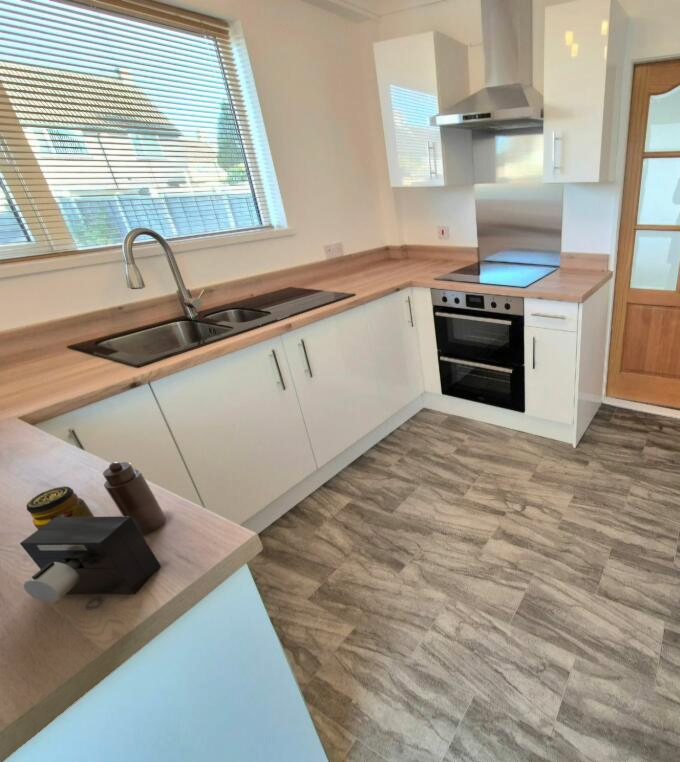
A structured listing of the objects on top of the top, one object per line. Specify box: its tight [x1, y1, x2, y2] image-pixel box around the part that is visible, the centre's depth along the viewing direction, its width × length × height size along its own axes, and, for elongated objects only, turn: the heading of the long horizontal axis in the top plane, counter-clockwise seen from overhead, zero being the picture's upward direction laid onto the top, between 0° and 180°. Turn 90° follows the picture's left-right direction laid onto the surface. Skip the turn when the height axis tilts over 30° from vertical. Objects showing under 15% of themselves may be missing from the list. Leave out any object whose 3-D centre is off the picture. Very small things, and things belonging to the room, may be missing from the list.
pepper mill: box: [102, 461, 167, 536], centre depth 73 cm, size 5×5×14 cm
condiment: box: [26, 485, 95, 530], centre depth 70 cm, size 7×8×12 cm
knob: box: [23, 558, 81, 604], centre depth 59 cm, size 5×4×5 cm
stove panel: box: [19, 515, 162, 595], centre depth 63 cm, size 5×12×11 cm, turn 87°
